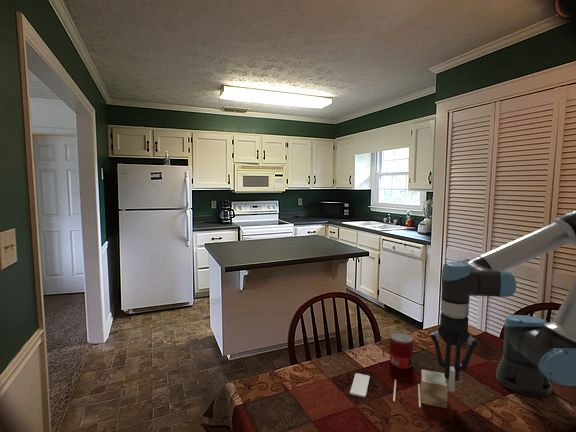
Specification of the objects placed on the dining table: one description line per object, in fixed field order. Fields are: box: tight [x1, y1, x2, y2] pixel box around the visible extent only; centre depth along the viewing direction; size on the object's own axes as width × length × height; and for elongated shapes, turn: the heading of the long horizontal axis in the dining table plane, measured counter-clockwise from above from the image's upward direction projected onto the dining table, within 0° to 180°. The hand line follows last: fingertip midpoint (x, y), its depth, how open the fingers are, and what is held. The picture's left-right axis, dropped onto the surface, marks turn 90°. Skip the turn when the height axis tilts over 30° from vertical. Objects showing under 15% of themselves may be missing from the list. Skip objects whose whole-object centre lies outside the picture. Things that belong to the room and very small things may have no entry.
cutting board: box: [349, 372, 422, 409], centre depth 104 cm, size 30×12×1 cm, turn 69°
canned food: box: [389, 332, 414, 370], centre depth 120 cm, size 8×8×11 cm
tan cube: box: [420, 369, 449, 409], centre depth 100 cm, size 7×7×7 cm
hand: (451, 389), depth 98 cm, fingers closed
